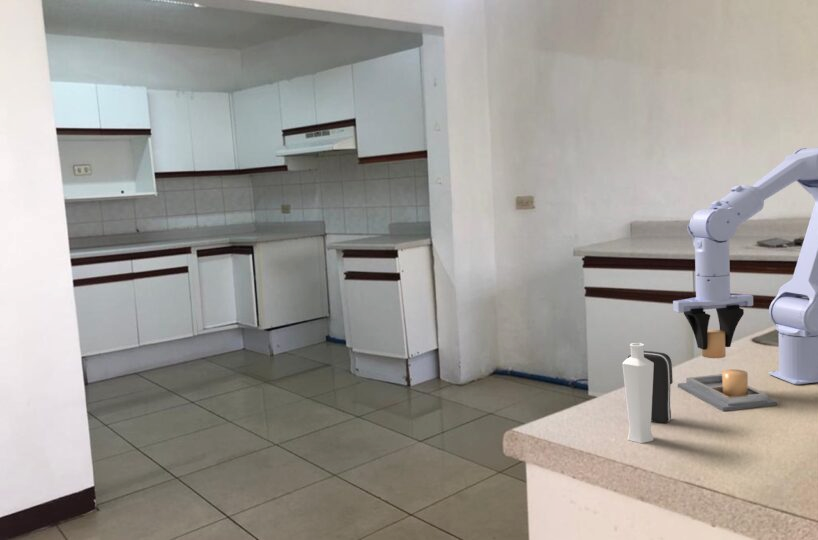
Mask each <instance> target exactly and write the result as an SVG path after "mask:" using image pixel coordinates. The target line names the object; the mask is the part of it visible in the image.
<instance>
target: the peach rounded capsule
mask: <svg viewBox="0 0 818 540" xmlns="http://www.w3.org/2000/svg"><path fill="white" fill-rule="evenodd" d="M707 337H708V345H707V349H705V350H703V349H701V356H702V357H704V358H707V359H723V358H726V352H727V351H726V350H727V349H726V348H727V347H725V331H722V330H720V329H708V331H707Z"/></svg>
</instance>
